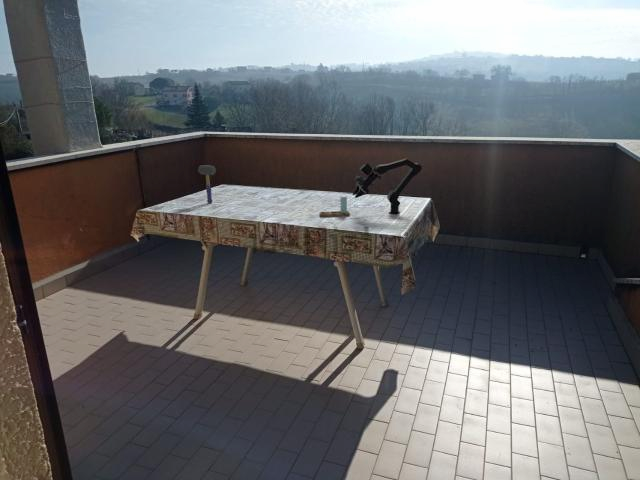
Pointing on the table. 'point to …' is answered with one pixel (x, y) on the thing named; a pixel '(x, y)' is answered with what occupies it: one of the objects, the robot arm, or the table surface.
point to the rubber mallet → (207, 178)
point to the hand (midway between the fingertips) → (353, 196)
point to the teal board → (343, 204)
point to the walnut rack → (334, 214)
